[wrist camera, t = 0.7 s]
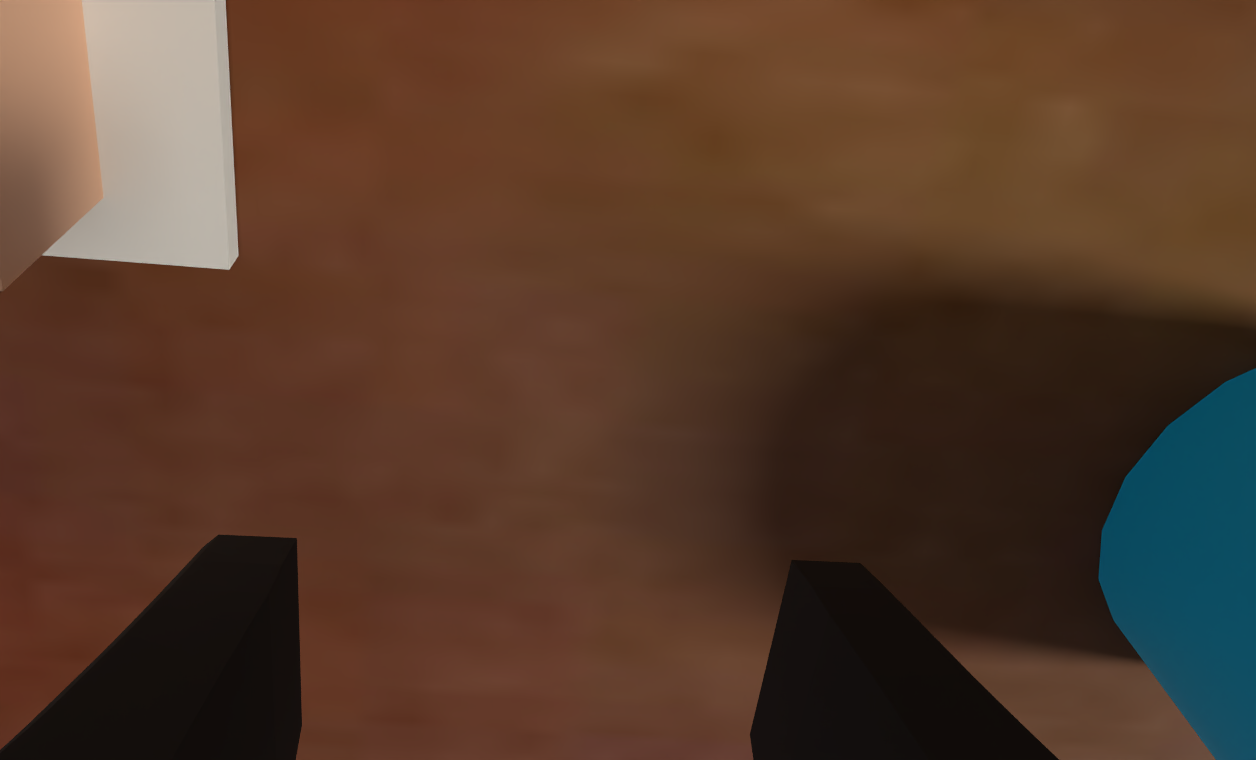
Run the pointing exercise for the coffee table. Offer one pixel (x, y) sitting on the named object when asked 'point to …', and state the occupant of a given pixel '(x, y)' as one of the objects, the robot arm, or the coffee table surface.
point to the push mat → (159, 135)
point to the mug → (1194, 565)
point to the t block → (43, 129)
